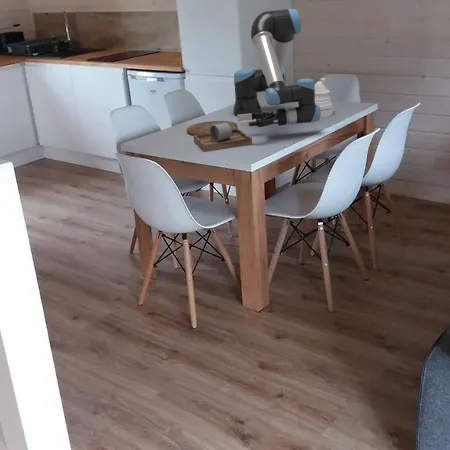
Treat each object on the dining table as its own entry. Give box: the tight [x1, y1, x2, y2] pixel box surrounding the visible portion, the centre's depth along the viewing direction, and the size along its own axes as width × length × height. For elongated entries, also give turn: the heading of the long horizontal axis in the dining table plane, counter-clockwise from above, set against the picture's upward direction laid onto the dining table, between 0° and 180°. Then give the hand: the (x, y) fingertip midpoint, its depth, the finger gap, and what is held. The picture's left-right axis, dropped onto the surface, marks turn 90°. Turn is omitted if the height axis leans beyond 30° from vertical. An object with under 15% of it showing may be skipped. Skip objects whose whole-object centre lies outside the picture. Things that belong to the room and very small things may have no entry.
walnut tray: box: [193, 128, 253, 153], centre depth 287 cm, size 20×22×3 cm
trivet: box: [186, 120, 239, 137], centre depth 311 cm, size 25×25×2 cm
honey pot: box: [314, 77, 334, 118], centre depth 319 cm, size 13×13×18 cm
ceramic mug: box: [210, 123, 232, 142], centre depth 287 cm, size 11×8×8 cm
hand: (239, 121), depth 284 cm, fingers open, 13 cm apart
